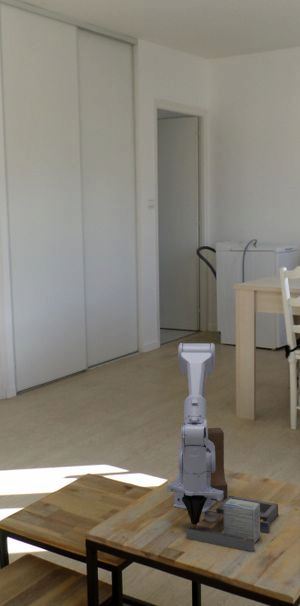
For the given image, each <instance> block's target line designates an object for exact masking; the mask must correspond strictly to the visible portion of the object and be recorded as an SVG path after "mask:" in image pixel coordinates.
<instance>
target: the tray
mask: <svg viewBox="0 0 300 606" xmlns="http://www.w3.org/2000/svg"><path fill="white" fill-rule="evenodd" d="M229 499H236V500H243V501H249V502H254V503H259V504H260V520H261V519H262V520H263V521H268V522H270V525H271V524H272V523H273V522H274V520H275V519H277V517H278V516H279V503H274V502H268V501H264V500H263V501H262V500H257V499H251V498H245V497H240V496H239V497H238V496H235V495H228V496H227V499H226V500H223V501H222V502H221V503H220V504H219V505H218V506H217V507H216V509H215V510H216V511H215V512H219V513H224V504H225V503H226V502H227V501H228V500H229Z"/></svg>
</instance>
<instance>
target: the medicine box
mask: <svg viewBox="0 0 300 606" xmlns="http://www.w3.org/2000/svg"><path fill="white" fill-rule="evenodd" d="M223 534H228V535H233V536H238V537H243V538H245V537H248V539H253V540H254V544H256V542H257V541H258V540H259V538H260V537H261V532H260V504H259V503H254V502H249V501H243V500H236V499H229V500H228V501H227V502H226V503H225V504H224V528H223Z"/></svg>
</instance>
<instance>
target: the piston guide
mask: <svg viewBox="0 0 300 606" xmlns="http://www.w3.org/2000/svg"><path fill="white" fill-rule="evenodd" d="M210 512H213V513H218V514H224V513H219V512H216V511H212V510H206V511H205V512H204V515H205V514H208V513H210ZM270 532H271V524H270V522H268V521H263V520H262V519H261V520H260V533H264V534H269V533H270ZM185 538H186V539H188V540H194V541H197V542H202V543H206V544H207V543H208V544H213V545H216V546H222V547H227V548H231V549H237V550H241V551H247V552H251V553H253V552H254V551H255V543H254V540H253V539H248V537H245V538H243V537H238V536H233V535H228V534H224V532H223V533H222V532H219V533H218V532H213V531H208V530H203V529H198V528H197V527H192V526H187V527H186V529H185Z"/></svg>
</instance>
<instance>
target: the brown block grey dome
mask: <svg viewBox="0 0 300 606" xmlns="http://www.w3.org/2000/svg"><path fill="white" fill-rule="evenodd" d="M196 528H198V529H203V530H208V531H213V532H218V533H221V530H224V514H218V513H213V512H210V513H208V514H205V513H204V515H203V519H202V520H200V521H199V523H198V524H197V525H196Z"/></svg>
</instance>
